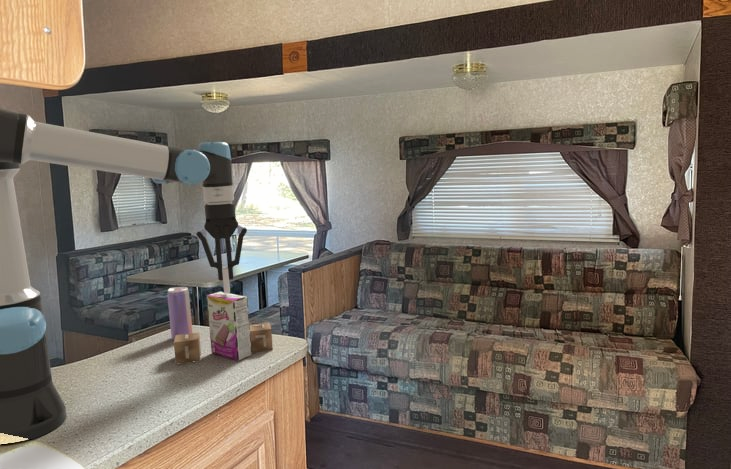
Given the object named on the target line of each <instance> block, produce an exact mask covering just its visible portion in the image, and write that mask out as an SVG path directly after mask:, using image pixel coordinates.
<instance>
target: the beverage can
mask: <svg viewBox="0 0 731 469" xmlns="http://www.w3.org/2000/svg"><path fill="white" fill-rule="evenodd" d="M166 295H167V304H168V306H167V307H168V312H169V313H168V314H169V316H168V317H169V324H170V325H169V326H170V336H171V339H172V341H174V340H175V336H176V335H181V334H190V333H193V325H192V324H193V323H192V312H191V303H190V302H191V301H190V290H189V287H187V286H175V287H170V288H168V289H167V294H166Z"/></svg>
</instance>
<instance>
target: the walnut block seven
mask: <svg viewBox="0 0 731 469" xmlns="http://www.w3.org/2000/svg"><path fill="white" fill-rule="evenodd" d="M249 327H250V341H251V353H257V352H265V351H266V352H267V351H273V350H274V347H273V335H272V334H273V333H272V332H273V331H272V327H271V323H270V322H263V323H254V324H253V323H252V324H249Z"/></svg>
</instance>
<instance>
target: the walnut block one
mask: <svg viewBox="0 0 731 469" xmlns="http://www.w3.org/2000/svg"><path fill="white" fill-rule="evenodd" d="M173 349H174V359H175V365H178V364H177V363H183V364H187V363H186V362H191V363H194V362H193V361H199V362H201V357H200V356H201V355H202V348H201V340H200V332H192V333H190V334H181V335H176V336H175V340H173Z"/></svg>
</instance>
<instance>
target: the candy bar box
mask: <svg viewBox="0 0 731 469" xmlns="http://www.w3.org/2000/svg"><path fill="white" fill-rule="evenodd" d="M206 304H207V317H208V325H209V326H208V327H209V328H208V329H209V335H210V337H209V338H210V349H211V350H210V351H211V353H212V354H214V355H218V356H221V357H224V358H229V359H231V360H234V361H238V362H240V361H242V360H245V359H246V358H249V357H251V356H252V355H253V354H252V353H253V352H251V341H250V327H249V325H250V318H249V303H248V296H245V295H240V294H235V293H231V292H230V293H224V291H216V292H213V293H210V294H207V295H206Z"/></svg>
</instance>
